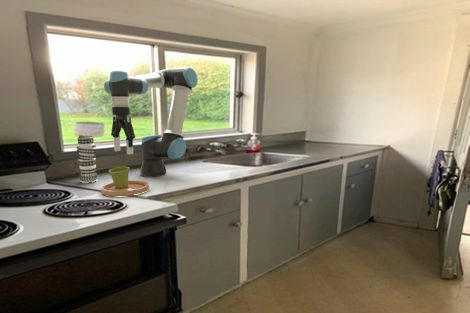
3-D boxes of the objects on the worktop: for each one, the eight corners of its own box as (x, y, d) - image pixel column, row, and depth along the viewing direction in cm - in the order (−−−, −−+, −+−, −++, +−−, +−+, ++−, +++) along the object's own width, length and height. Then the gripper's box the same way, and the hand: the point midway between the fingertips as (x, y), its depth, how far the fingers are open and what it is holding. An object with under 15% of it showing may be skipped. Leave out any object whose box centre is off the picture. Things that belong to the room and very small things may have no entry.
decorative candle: (90, 178, 168) (87, 133, 164) (102, 180, 164) (98, 134, 160) (75, 182, 160) (71, 135, 156) (87, 184, 156) (83, 135, 152)
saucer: (94, 190, 144) (94, 185, 144) (136, 183, 158) (136, 178, 158) (112, 200, 129) (112, 194, 129) (156, 190, 144) (156, 185, 143)
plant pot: (112, 191, 140) (109, 173, 138) (110, 185, 149) (108, 168, 146) (133, 187, 144) (130, 170, 142) (130, 182, 152) (128, 165, 150)
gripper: (101, 106, 144) (105, 150, 147) (124, 106, 126) (127, 156, 129) (117, 106, 149) (120, 149, 152) (141, 106, 131) (144, 154, 135)
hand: (123, 152), depth 141 cm, fingers open, 13 cm apart
